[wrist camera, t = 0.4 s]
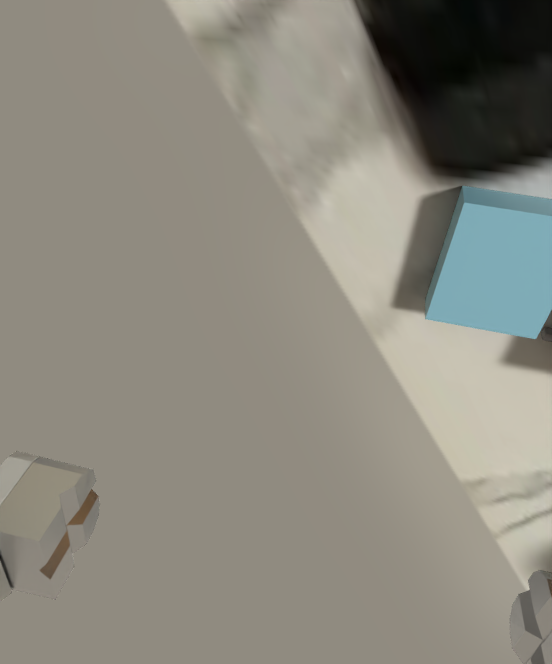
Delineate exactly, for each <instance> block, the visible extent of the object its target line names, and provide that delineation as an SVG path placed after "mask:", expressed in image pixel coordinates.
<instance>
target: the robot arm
mask: <svg viewBox="0 0 552 664" xmlns="http://www.w3.org/2000/svg"><path fill="white" fill-rule="evenodd" d="M95 482H96V478H95V473H94V470H93V469H89V468H85V467H81V466H76V465H73V464H68V463H65V462H60V461H56V460H52V459H48V458H44V457H41V456H36V455H32V454H28V453H23V452H19V451H16V452H14V453H13V454H11V455H10V456H8V457H7V458H6V459H5V461H4V462H3V463H2V464H1V465H0V601H2V600H3V599H4V598H6V597H7V596H8V595H10V594H11V593H12V591H11V590H15V591H20V592H25V593H29V594H33V595H38V596H42V597H46V598H51V599H56V598H57V596H58V595H59V593H60V591H61V589H62V587H63V586H64V584H65V582H66V580H67V578H68V577H69V575H70V573H71V571H72V570H73V568H74V560H73V553H74V552H75V551H77V550H79V549H80V548H81V547H83V546H85V545H86V544H87V542H88V540H89V539H90V537H91V535H92V533H93V531H94V528H95V525H96V522H97V519H98V516H99V506H100V503H99V496H98V495H97V494H96V493H95V492H94V491H93V490H92V487H93V486H94V484H95ZM528 583H529V588H530V590H529V591H526V592H523V593H521V594H519V595H518V596H517V598H516V600H515V601H514V603H513V605H512V610H511V615H510V637H511V643H512V649H513V650H514V652H515V653H516V654H517V656H518V657H519V659H520V660H521V661H522V663H523V664H552V573H551V572H546V571H541V570H539V571H536V572H534V573H533V574H532V575H531V577H530V578H529V580H528Z"/></svg>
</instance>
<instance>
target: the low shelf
mask: <svg viewBox="0 0 552 664" xmlns="http://www.w3.org/2000/svg"><path fill="white" fill-rule="evenodd" d="M541 335H542V339H543V340H545V341H550V342H552V328H546V327H544V329H543V331H542V332H541Z"/></svg>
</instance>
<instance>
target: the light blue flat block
mask: <svg viewBox="0 0 552 664" xmlns="http://www.w3.org/2000/svg"><path fill="white" fill-rule="evenodd" d="M551 310H552V199H546V198H539V197H533V196H526V195H520V194H513V193H507V192H500V191H494V190H487V189H481V188H474V187H468V186H462V188H461V191H460V194H459V198H458V201H457V204H456V207H455V210H454V213H453V216H452V219H451V222H450V225H449V228H448V231H447V235H446V238H445V241H444V244H443V247H442V250H441V253H440V256H439V259H438V262H437V265H436V269H435V272H434V275H433V278H432V281H431V284H430V287H429V290H428V293H427V296H426V299H425V319H428V320H433V321H439V322H444V323H450V324H455V325H461V326H466V327H472V328H477V329H483V330H488V331H493V332H499V333H504V334H510V335H515V336H521V337H526V338H532V339H536V338H537V336H538V334H539V333H540V331H541V329H542V327H543V325H544V323H545V321H546V319H547V318H548V316H549V314H550V312H551Z"/></svg>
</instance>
